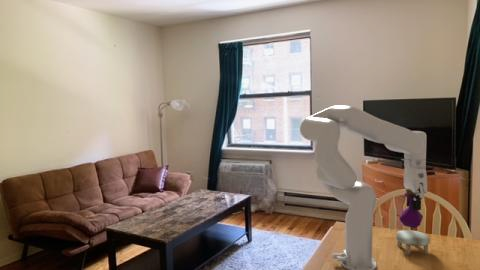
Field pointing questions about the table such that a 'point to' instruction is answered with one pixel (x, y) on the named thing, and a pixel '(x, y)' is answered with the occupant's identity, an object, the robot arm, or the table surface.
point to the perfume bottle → (411, 213)
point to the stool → (413, 240)
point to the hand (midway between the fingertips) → (413, 207)
